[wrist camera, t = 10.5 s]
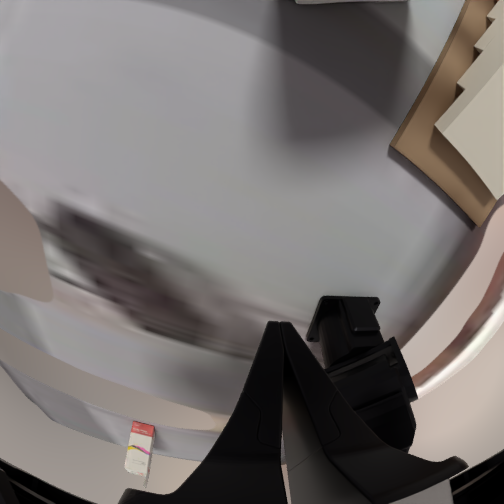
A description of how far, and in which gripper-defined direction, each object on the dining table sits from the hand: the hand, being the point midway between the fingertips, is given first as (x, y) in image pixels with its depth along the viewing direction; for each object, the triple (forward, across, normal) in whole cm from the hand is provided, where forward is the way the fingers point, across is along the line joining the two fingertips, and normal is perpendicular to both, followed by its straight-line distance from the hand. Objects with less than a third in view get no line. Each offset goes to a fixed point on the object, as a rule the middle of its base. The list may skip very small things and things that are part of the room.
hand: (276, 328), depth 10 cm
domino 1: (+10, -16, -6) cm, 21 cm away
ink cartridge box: (+12, +19, +54) cm, 59 cm away
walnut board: (+12, -20, -15) cm, 27 cm away
